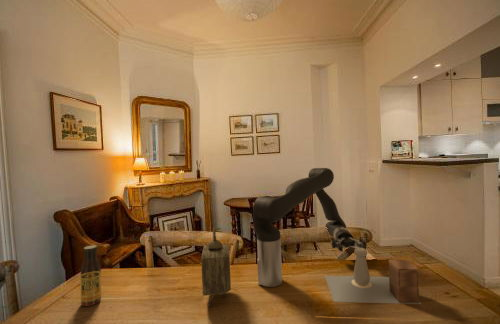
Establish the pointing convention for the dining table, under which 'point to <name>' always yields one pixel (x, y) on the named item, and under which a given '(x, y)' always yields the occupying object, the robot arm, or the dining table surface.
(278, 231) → the robot arm
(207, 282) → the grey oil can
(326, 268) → the dining table surface
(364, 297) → the board
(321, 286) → the dining table surface
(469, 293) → the dining table surface
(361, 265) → the salt shaker
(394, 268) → the block
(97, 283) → the sauce bottle
